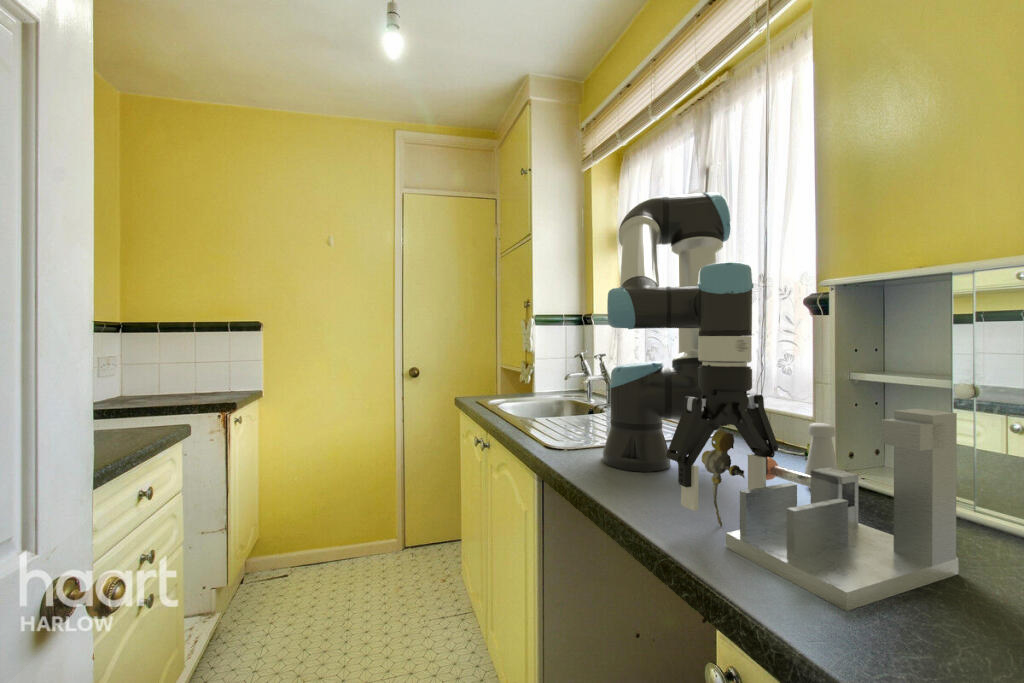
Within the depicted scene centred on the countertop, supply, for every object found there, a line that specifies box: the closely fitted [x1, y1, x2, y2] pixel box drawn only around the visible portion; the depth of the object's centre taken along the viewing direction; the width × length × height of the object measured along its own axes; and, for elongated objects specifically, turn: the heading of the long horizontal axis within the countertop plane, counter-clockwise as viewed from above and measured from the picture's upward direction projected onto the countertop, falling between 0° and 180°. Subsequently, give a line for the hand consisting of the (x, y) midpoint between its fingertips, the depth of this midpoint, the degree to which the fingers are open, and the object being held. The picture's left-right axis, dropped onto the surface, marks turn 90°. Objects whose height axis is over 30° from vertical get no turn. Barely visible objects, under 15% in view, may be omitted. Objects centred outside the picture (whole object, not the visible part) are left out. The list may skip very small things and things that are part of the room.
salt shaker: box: [804, 422, 839, 491], centre depth 86 cm, size 6×6×13 cm
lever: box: [766, 457, 845, 496], centre depth 73 cm, size 14×4×4 cm, turn 21°
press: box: [725, 408, 959, 612], centre depth 59 cm, size 16×21×20 cm
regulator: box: [701, 429, 746, 527], centre depth 69 cm, size 8×4×15 cm, turn 23°
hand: (724, 502), depth 69 cm, fingers open, 13 cm apart
